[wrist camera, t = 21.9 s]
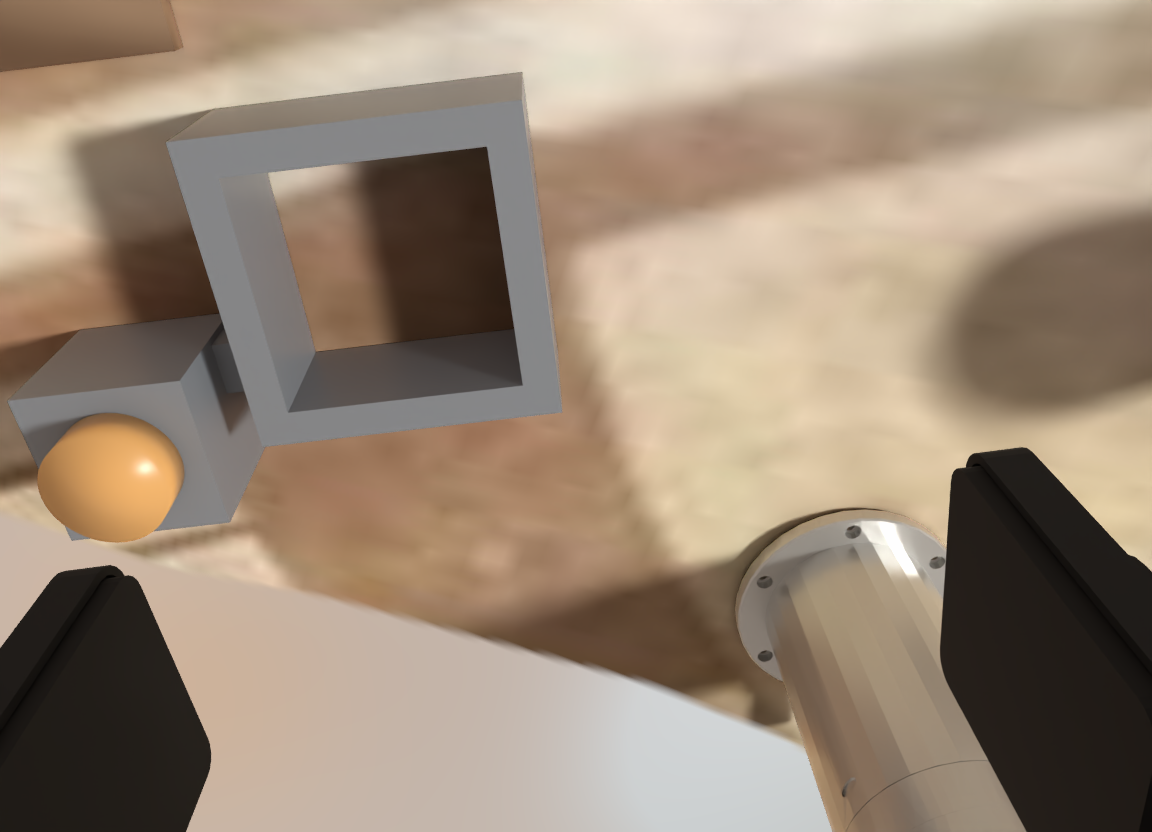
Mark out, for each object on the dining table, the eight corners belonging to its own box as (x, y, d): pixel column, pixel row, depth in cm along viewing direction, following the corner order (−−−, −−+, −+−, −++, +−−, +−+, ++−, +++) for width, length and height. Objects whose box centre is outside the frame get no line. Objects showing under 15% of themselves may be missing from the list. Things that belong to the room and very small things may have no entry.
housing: (564, 406, 47) (570, 483, 41) (130, 456, 47) (71, 540, 41) (522, 72, 39) (521, 105, 33) (1, 134, 39) (-96, 178, 33)
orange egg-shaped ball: (225, 458, 44) (184, 535, 38) (120, 470, 44) (65, 548, 38) (193, 363, 41) (144, 431, 36) (81, 376, 41) (16, 445, 36)
